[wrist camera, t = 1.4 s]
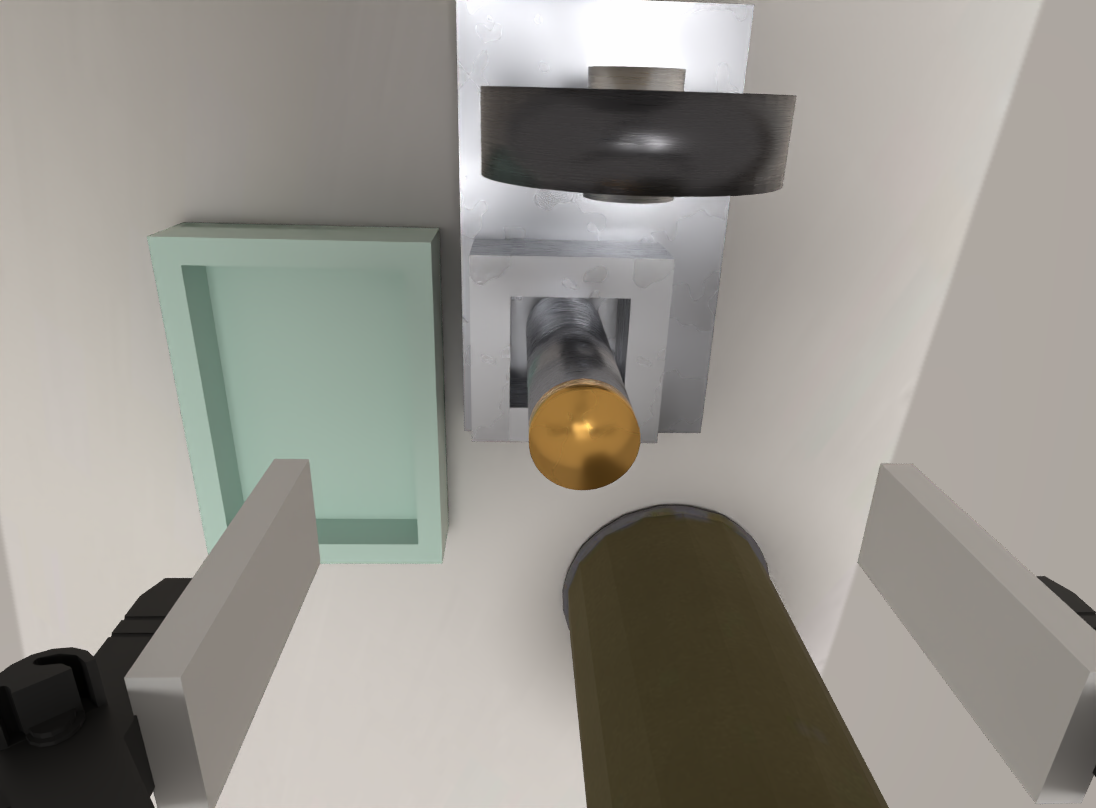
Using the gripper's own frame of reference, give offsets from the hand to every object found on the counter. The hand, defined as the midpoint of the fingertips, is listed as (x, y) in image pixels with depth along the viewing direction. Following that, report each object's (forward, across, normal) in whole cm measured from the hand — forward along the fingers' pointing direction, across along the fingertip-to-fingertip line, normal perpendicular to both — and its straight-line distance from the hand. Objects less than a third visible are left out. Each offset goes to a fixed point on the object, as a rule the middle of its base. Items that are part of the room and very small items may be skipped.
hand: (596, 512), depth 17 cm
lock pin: (+13, 0, 0) cm, 13 cm away
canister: (+15, +6, -14) cm, 22 cm away
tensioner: (+15, +1, +4) cm, 16 cm away
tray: (+15, -10, -3) cm, 18 cm away
